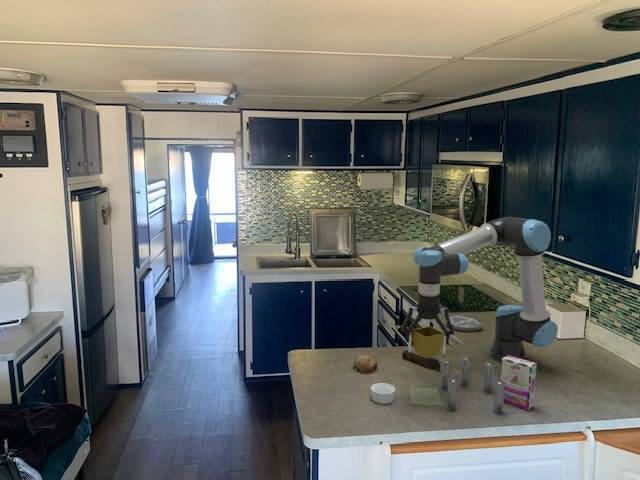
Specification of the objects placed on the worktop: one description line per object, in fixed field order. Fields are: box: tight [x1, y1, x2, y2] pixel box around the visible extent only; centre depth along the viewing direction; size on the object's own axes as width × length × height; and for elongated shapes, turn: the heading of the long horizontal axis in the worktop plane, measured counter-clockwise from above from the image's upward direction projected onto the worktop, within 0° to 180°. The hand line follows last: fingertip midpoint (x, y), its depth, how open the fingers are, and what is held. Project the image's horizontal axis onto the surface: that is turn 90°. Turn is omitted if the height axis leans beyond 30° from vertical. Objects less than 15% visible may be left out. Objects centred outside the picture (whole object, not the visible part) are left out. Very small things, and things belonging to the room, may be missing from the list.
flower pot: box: [410, 325, 445, 358], centre depth 185 cm, size 9×9×9 cm
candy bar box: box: [499, 355, 538, 411], centre depth 183 cm, size 11×5×16 cm, turn 45°
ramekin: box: [370, 382, 396, 405], centre depth 187 cm, size 9×9×4 cm
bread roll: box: [353, 353, 378, 374], centre depth 213 cm, size 10×10×8 cm
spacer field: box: [440, 356, 505, 415], centre depth 188 cm, size 19×23×11 cm
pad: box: [408, 386, 443, 407], centre depth 189 cm, size 11×13×1 cm
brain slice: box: [445, 315, 484, 333], centre depth 265 cm, size 20×17×3 cm
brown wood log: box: [401, 349, 442, 372], centre depth 218 cm, size 19×4×5 cm, turn 39°
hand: (426, 351), depth 186 cm, fingers closed on flower pot, 11 cm apart
